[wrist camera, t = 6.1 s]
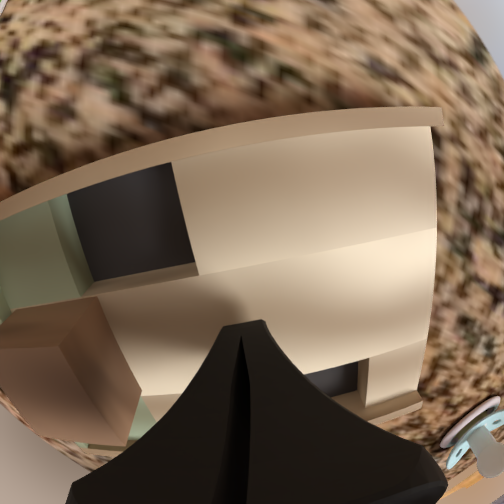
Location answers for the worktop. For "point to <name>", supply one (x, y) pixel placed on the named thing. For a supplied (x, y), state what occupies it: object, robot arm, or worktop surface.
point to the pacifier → (478, 438)
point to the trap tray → (247, 251)
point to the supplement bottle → (2, 5)
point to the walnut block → (68, 373)
